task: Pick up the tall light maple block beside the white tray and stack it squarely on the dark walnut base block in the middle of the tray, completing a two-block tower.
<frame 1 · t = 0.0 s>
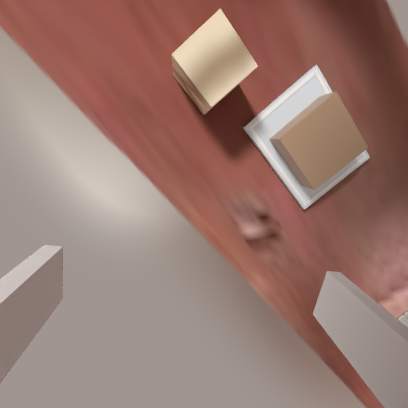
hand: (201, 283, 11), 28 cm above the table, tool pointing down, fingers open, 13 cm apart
white tray: (306, 143, 39), on the table
maple block: (206, 80, 34), on the table
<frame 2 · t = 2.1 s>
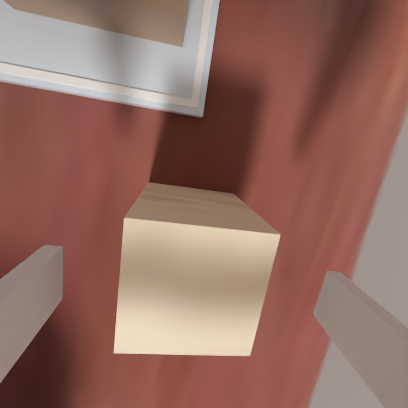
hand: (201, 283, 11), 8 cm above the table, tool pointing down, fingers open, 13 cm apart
maple block: (186, 228, 20), on the table
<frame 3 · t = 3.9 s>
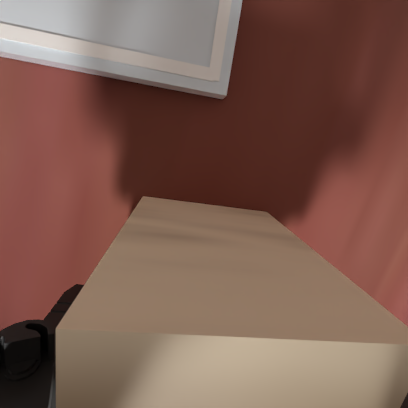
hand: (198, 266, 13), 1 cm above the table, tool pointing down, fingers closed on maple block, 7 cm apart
maple block: (197, 260, 14), on the table, touching gripper
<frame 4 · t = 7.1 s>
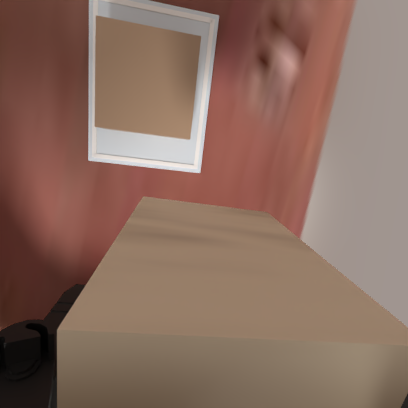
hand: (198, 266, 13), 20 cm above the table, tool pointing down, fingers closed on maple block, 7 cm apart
white tray: (151, 92, 28), on the table
maple block: (197, 261, 14), point 19 cm above the table, touching gripper
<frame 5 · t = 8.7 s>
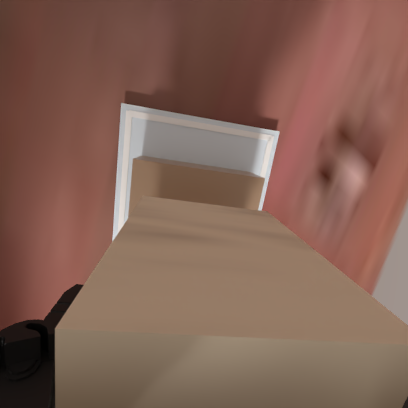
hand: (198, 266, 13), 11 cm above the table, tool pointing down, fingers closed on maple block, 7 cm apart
white tray: (189, 212, 23), on the table
maple block: (197, 260, 14), point 10 cm above the table, touching gripper
when the fingers open (7 cm above the table, at t = 10.2 s): maple block drops 1 cm, resting on white tray.
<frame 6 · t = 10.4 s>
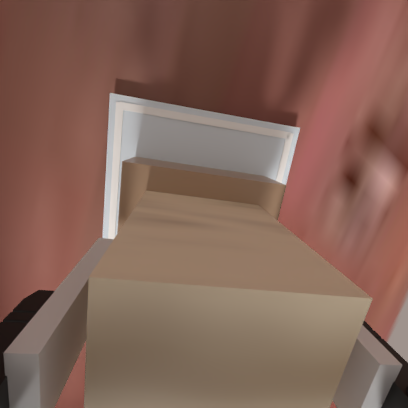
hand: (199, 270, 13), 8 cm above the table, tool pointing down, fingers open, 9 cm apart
white tray: (192, 223, 20), on the table
maple block: (195, 249, 15), point 5 cm above the table, touching white tray
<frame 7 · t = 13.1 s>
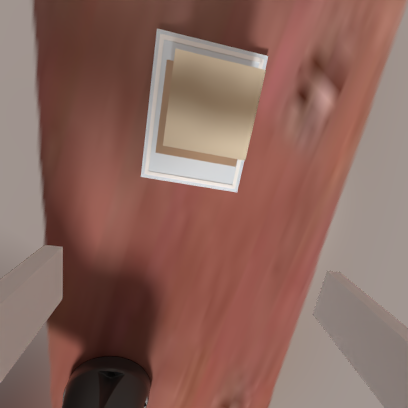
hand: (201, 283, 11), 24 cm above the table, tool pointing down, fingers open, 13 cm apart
white tray: (200, 119, 32), on the table
maple block: (203, 117, 27), point 5 cm above the table, touching white tray
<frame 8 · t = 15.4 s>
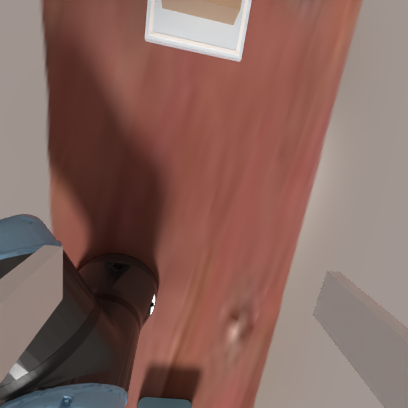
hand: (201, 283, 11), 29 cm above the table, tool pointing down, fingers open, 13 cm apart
data package: (164, 403, 52), on the table
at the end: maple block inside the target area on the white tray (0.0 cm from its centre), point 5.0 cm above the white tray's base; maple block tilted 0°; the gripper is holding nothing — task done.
